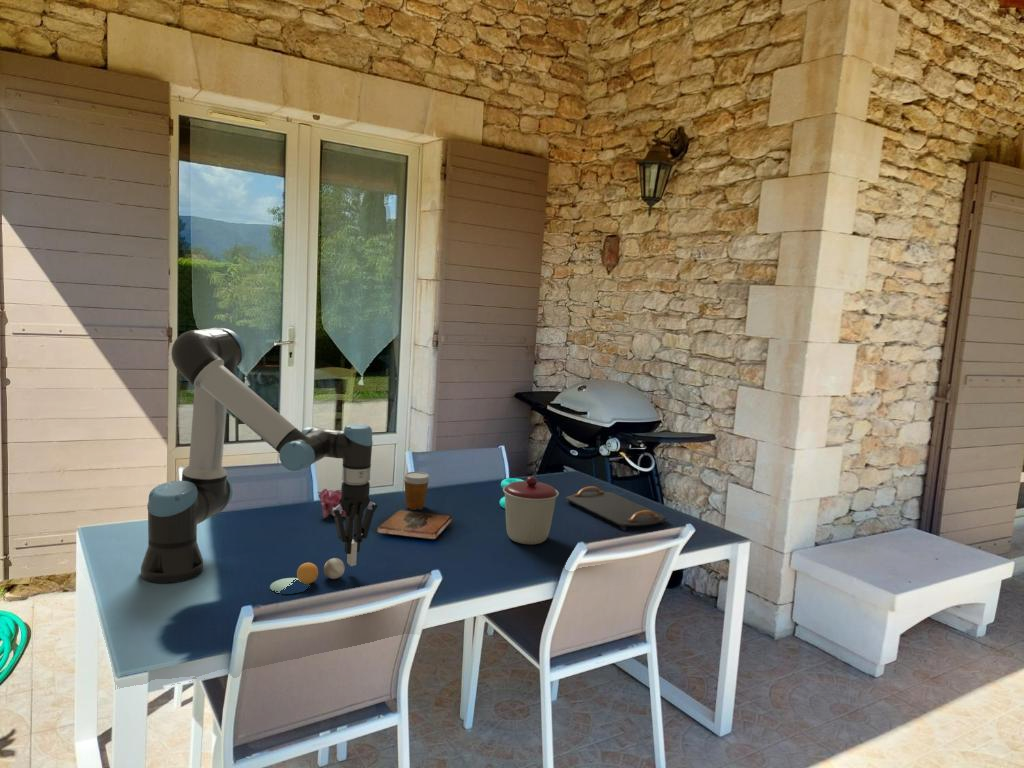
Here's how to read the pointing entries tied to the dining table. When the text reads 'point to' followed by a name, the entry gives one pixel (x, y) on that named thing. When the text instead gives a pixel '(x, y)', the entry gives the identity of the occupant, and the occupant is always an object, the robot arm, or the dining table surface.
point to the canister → (529, 510)
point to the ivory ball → (334, 568)
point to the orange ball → (307, 573)
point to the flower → (330, 501)
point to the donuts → (503, 484)
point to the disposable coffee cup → (415, 489)
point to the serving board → (615, 508)
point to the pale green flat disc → (282, 584)
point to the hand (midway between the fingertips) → (351, 563)
